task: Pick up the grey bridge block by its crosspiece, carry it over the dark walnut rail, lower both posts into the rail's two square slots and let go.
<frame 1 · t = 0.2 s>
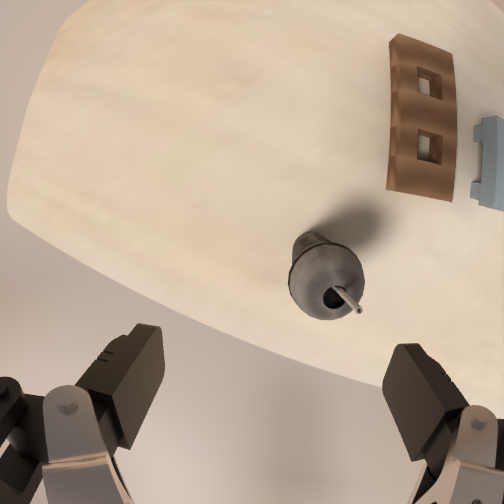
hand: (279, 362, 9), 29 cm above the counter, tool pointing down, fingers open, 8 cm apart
rail: (418, 117, 32), on the counter
grey bridge block: (478, 163, 33), on the counter
beverage cup: (309, 248, 38), on the counter
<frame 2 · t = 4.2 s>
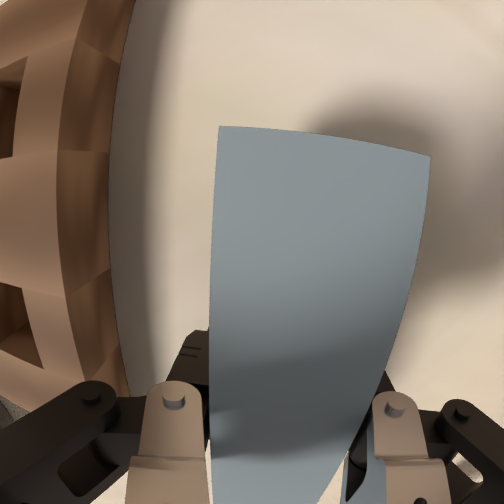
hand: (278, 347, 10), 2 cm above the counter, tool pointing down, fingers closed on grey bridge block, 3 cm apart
rail: (37, 209, 11), on the counter
grey bridge block: (277, 318, 12), on the counter, touching gripper
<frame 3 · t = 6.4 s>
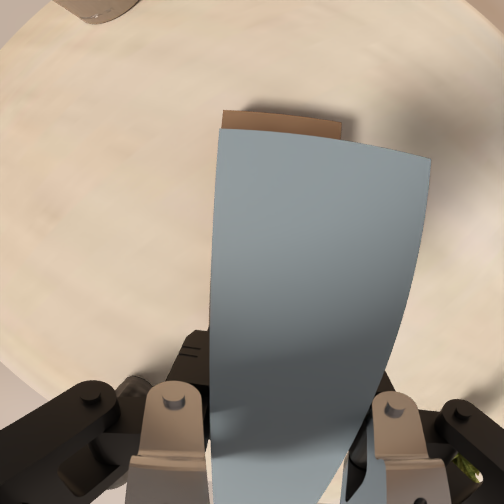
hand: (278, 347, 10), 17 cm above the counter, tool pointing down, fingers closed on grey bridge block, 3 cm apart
rail: (269, 246, 26), on the counter
house plant: (433, 420, 31), on the counter
grey bridge block: (278, 319, 12), point 14 cm above the counter, touching gripper
beverage cup: (140, 389, 32), on the counter
when the fingers open (4 cm above the counter, at t = 8.7 s): grey bridge block drops 1 cm, resting on rail.
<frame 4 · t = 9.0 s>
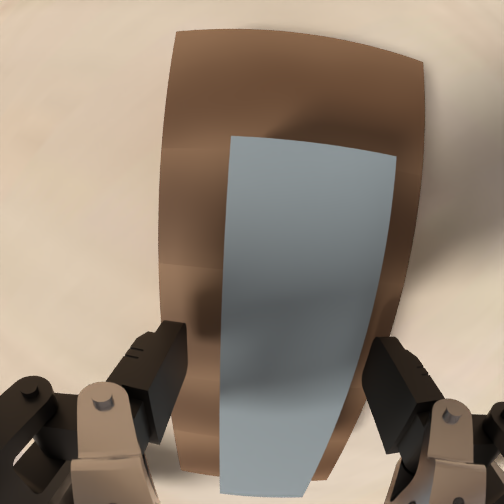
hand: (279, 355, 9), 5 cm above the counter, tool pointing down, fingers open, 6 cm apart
rail: (276, 299, 14), on the counter
grey bridge block: (277, 302, 13), resting on rail
beverage cup: (105, 459, 20), on the counter
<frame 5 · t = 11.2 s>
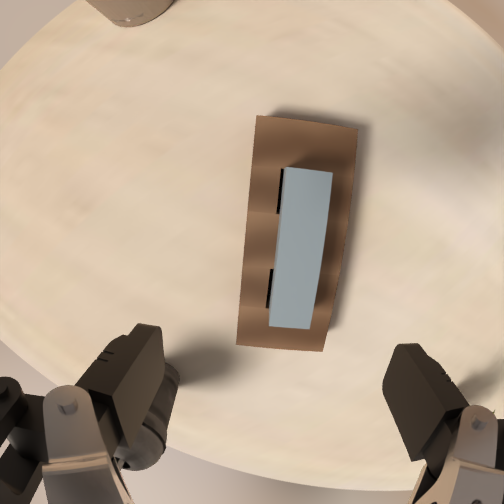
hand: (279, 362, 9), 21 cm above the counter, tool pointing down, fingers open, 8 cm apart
rail: (292, 236, 29), on the counter
grey bridge block: (293, 236, 29), resting on rail
beverage cup: (163, 374, 35), on the counter
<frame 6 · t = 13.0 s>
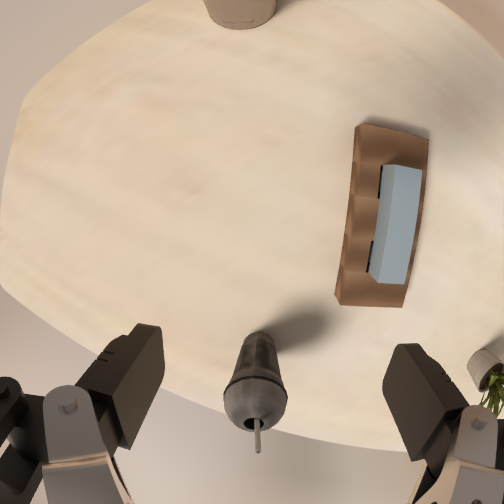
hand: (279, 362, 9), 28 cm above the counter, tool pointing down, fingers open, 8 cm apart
rail: (379, 217, 35), on the counter
house plant: (471, 360, 41), on the counter
grey bridge block: (380, 217, 35), resting on rail
beverage cup: (258, 344, 41), on the counter
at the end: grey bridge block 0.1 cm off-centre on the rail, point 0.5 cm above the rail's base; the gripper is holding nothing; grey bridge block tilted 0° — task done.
